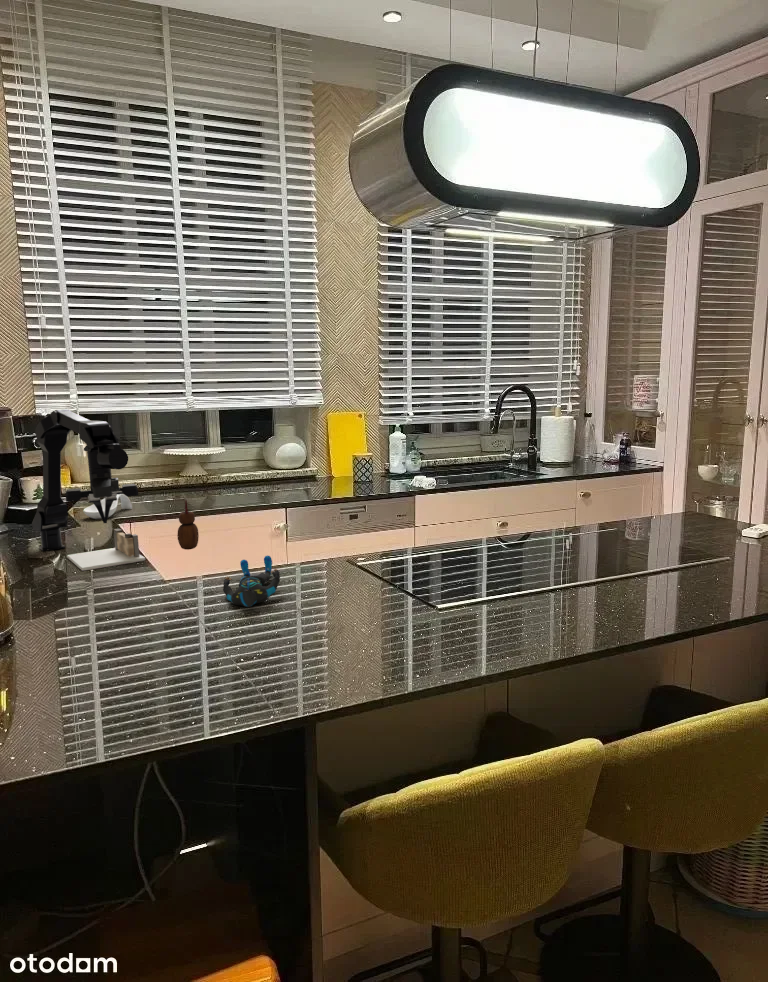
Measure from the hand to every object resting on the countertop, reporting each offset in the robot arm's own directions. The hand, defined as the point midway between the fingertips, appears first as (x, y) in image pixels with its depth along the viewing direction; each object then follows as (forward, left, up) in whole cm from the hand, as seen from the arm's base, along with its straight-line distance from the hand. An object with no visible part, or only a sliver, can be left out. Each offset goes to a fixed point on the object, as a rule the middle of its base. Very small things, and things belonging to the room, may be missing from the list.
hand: (105, 523), depth 210 cm
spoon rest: (-79, +20, -12) cm, 82 cm away
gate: (-5, +6, -10) cm, 13 cm away
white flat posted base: (-5, 0, -11) cm, 12 cm away
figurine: (+55, +19, -12) cm, 59 cm away
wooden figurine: (-2, +24, -12) cm, 27 cm away
